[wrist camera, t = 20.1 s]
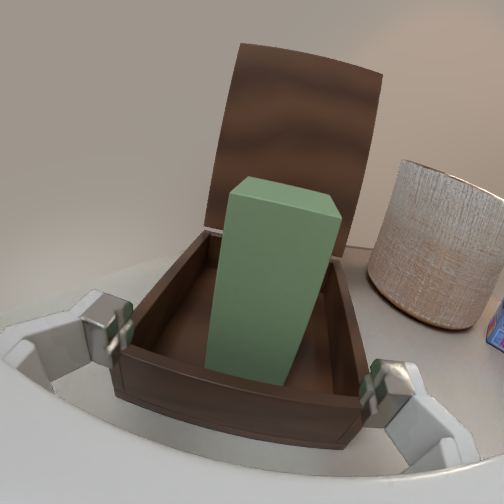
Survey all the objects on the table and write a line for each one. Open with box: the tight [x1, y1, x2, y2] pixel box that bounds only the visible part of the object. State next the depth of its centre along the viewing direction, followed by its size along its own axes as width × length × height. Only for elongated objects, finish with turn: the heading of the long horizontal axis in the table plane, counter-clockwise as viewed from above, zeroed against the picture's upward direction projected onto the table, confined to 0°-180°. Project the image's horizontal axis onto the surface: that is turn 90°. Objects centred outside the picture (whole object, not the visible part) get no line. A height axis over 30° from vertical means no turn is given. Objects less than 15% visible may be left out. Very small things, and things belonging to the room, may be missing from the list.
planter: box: [368, 160, 504, 330], centre depth 30 cm, size 18×18×16 cm
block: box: [204, 176, 342, 386], centre depth 17 cm, size 5×5×11 cm
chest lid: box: [204, 43, 383, 258], centre depth 26 cm, size 18×14×4 cm
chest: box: [109, 230, 369, 450], centre depth 21 cm, size 18×14×4 cm
